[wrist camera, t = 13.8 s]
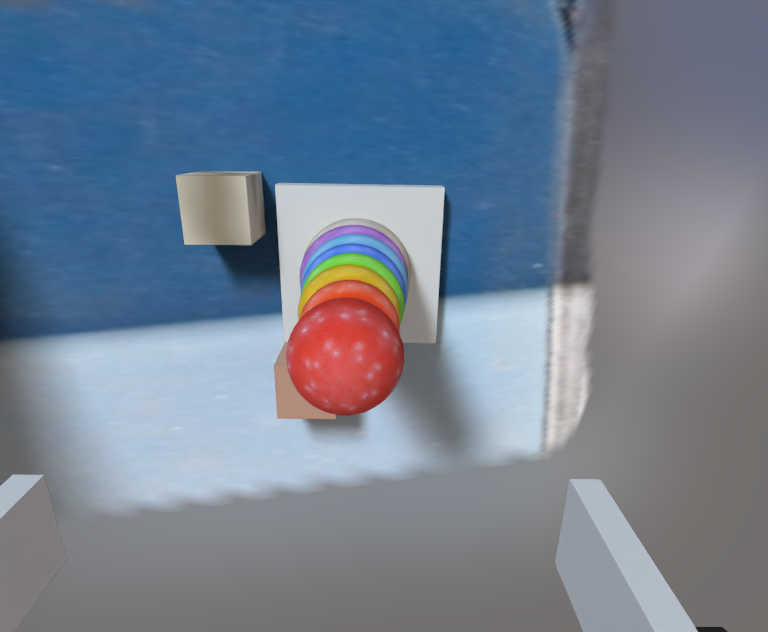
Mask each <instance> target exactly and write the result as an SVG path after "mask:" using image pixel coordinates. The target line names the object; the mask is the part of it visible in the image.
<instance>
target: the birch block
mask: <svg viewBox="0 0 768 632" xmlns="http://www.w3.org/2000/svg"><path fill="white" fill-rule="evenodd" d="M176 182H177V189H178V197H179V205H180V212H181V220H182V228H183V235H184V243H185V245H252V244H253V243H255V242H256V241H257V240H258V239H260V238H261V237H262V236H263V235H264V234H266V227H265V213H264V200H263V186H262V172H231V171H198V172H192V173H187V174H181V175H176Z"/></svg>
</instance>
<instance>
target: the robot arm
mask: <svg viewBox="0 0 768 632" xmlns="http://www.w3.org/2000/svg"><path fill="white" fill-rule="evenodd" d="M66 561H67V558H66V555H65V551H64V548H63V544H62V540H61V536H60V532H59V529H58V525H57V521H56V518H55V514H54V510H53V507H52V503H51V499H50V495H49V492H48V488H47V484H46V481H45V477H44V475H12V476H11V477H10V478H9V479H7V480H6V481H5V482H4V483H3V484H2V485H1V486H0V632H14V631H15V629H16V628H17V627H18V625H19V624H20V623H21V621H22V620H23V619H24V617H25V616H26V615H27V613H28V612H29V611H30V609H31V608H32V607H33V605H34V604H35V602H36V601H37V600H38V598H39V597H40V596H41V594H42V593H43V592H44V590H45V589H46V588H47V586H48V585H49V583H50V582H51V581H52V580H53V578H54V577H55V576H56V574H57V573H58V571H59V570H60V569H61V567H62V566H63V565H64V563H65V562H66ZM555 564H556V567H557V569H558V572H559V574H560V576H561V579H562V581H563V584H564V586H565V589H566V591H567V594H568V596H569V598H570V601H571V603H572V606H573V608H574V611H575V613H576V615H577V618H578V620H579V622H580V625H581V628H582V630H583V632H727V631H726V630H725V629H724V628H723V627H695V626H694V625H693V623H692V622H691V620H690V618H689V617H688V615H687V614H686V612H685V611H684V609H683V607H682V606H681V604H680V603H679V601H678V600H677V598H676V597H675V595H674V594H673V592H672V590H671V589H670V587H669V586H668V584H667V583H666V581H665V579H664V578H663V576H662V575H661V573H660V572H659V570H658V569H657V567H656V566H655V564H654V563H653V561H652V559H651V558H650V556H649V555H648V553H647V552H646V550H645V548H644V547H643V545H642V544H641V542H640V541H639V540H638V538H637V536H636V534H635V533H634V532H633V530H632V529H631V527H630V525H629V524H628V522H627V521H626V519H625V517H624V516H623V514H622V513H621V511H620V510H619V508H618V507H617V505H616V503H615V502H614V500H613V499H612V497H611V496H610V494H609V492H608V491H607V489H606V488H605V486H604V485H603V483H602V482H601V480H594V479H593V480H592V479H589V480H587V479H570V482H569V488H568V494H567V499H566V504H565V510H564V516H563V521H562V527H561V532H560V538H559V543H558V549H557V555H556V560H555Z"/></svg>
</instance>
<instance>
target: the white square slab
mask: <svg viewBox="0 0 768 632" xmlns="http://www.w3.org/2000/svg"><path fill="white" fill-rule="evenodd" d="M444 192H445V187H443V186H434V185H373V184H312V183H278V184H276V185H275V193H276V210H277V227H278V244H279V261H280V278H281V295H282V312H283V330H284V341H288V340H289V337H290V335H291V333H292V331H293V328H294V327H295V325H296V324H297V322H298V305H299V300H300V297H301V287H300V267H301V264H302V261H303V257H304V254H305V251H306V249H307V247H308V245H309V243H310V242H311V240H312V239H313V238H314V236H315V235H316V234H317V233H318V232H319V231H321V230H322V229H323V228H324V227H326V226H328V225H329V224H331V223H333V222H336V221H339V220H343V219H348V218H362V219H368V220H372V221H375V222H377V223H379V224H382V225H383V226H385V227H387V228H388V229H389V230H391V231H392V232H393V233H394V234H395V235H396V236H397V237H398V238H399V239H400V241H401V242H402V244H403V245H404V247H405V249H406V251H407V253H408V256H409V259H410V264H411V281H410V285H409V290H408V297H407V301H406V305H405V310H404V314H403V318H402V321H401V324H400V337H401V340H402V343H436V331H437V314H438V296H439V279H440V262H441V244H442V227H443V209H444Z"/></svg>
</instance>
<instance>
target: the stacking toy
mask: <svg viewBox="0 0 768 632" xmlns="http://www.w3.org/2000/svg"><path fill="white" fill-rule="evenodd" d="M410 281H411V264H410V259H409V256H408V253H407V251H406V249H405V247H404V245H403V244H402V242H401V241H400V239H399V238H398V237H397V236H396V235H395V234H394V233H393V232H392V231H391V230H389V229H388V228H387V227H385V226H383V225H382V224H379V223H377V222H375V221H372V220H368V219H362V218H348V219H343V220H339V221H336V222H333V223H331V224H329V225H328V226H326V227H324V228H323V229H322V230H321V231H319V232H318V233H317V234H316V235H315V236H314V238H313V239H312V240H311V242H310V243H309V245H308V247H307V249H306V251H305V254H304V257H303V261H302V264H301V267H300V287H301V297H300V300H299V305H298V322H297V324H296V325H295V327H294V328H293V331H292V333H291V335H290V337H289V340H288V345H287V351H286V362H287V369H288V373H289V375H290V378H291V380H292V383H293V385H294V387H295V388H296V390H297V391H298V393H299V394H300V395H301V396H302V397H303V398H304V399H305V400H306V401H307V402H308V403H310V404H311V405H312V406H314V407H316V408H318V409H320V410H322V411H324V412H327V413H330V414H336V415H353V414H359V413H363V412H366V411H368V410H370V409H372V408H374V407H375V406H377V405H379V404H380V403H381V402H382V401H384V400H385V399H386V398H387V397H388V396H389V395H390V394H391V392H392V391H393V389H394V388H395V386H396V385H397V383H398V381H399V379H400V376H401V373H402V369H403V363H404V349H403V344H402V340H401V337H400V324H401V321H402V318H403V314H404V310H405V305H406V301H407V297H408V290H409V285H410Z"/></svg>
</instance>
